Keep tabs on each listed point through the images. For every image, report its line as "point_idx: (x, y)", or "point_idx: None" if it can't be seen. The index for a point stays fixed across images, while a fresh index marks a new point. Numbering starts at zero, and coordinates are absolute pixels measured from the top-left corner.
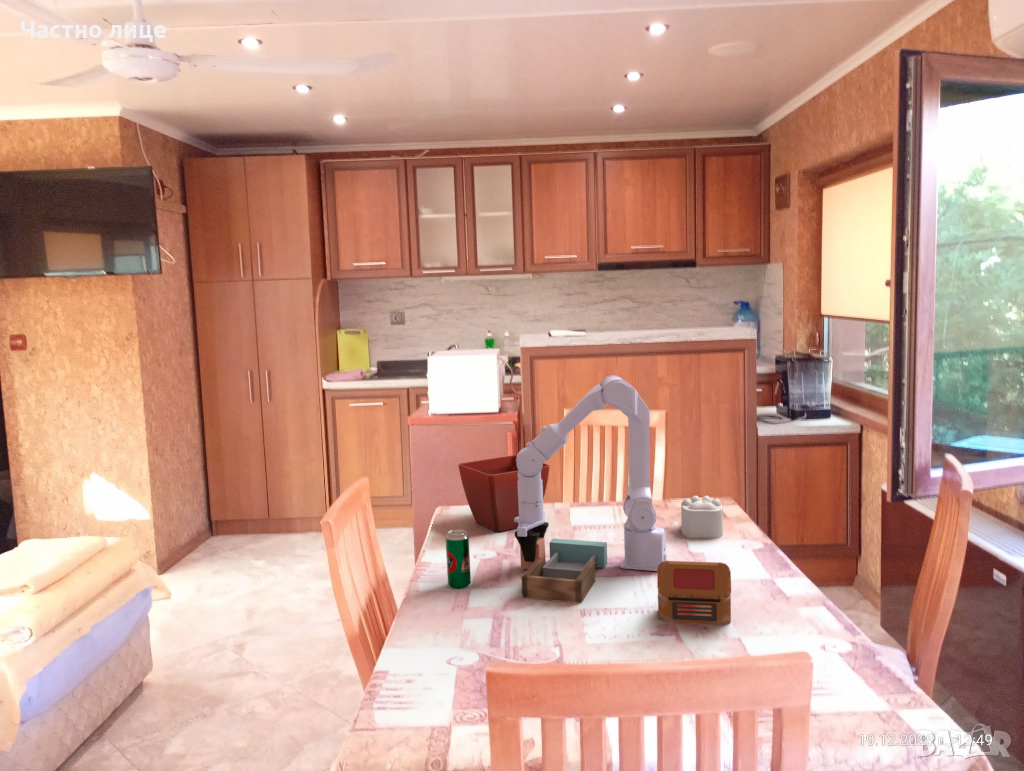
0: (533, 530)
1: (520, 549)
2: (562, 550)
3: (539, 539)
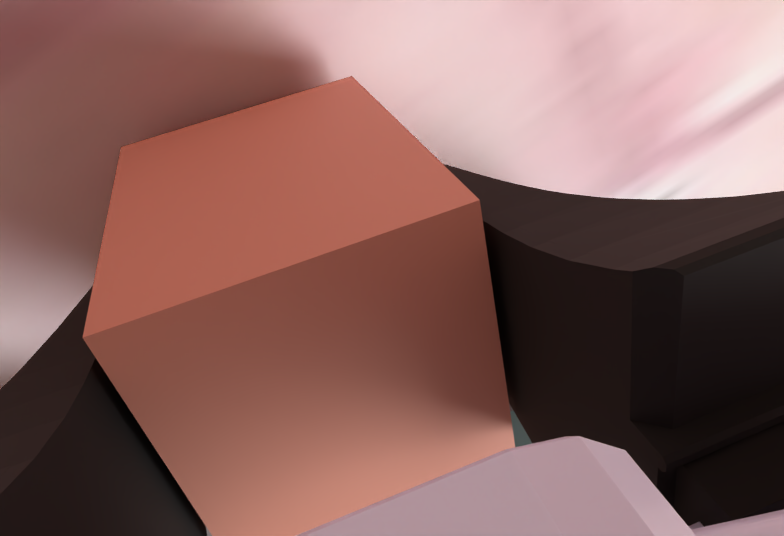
0: (577, 396)
1: (101, 266)
2: (521, 437)
3: (437, 443)
